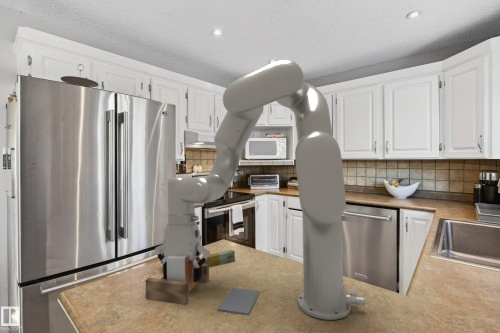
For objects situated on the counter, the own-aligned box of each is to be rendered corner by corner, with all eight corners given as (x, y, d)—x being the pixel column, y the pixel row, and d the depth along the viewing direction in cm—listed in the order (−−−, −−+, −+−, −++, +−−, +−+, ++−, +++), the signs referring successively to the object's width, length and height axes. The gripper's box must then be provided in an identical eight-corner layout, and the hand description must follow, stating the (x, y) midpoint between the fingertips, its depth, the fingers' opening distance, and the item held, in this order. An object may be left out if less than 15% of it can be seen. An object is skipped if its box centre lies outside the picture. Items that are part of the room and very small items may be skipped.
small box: (185, 297, 67) (184, 258, 67) (166, 295, 68) (166, 257, 68) (197, 283, 75) (196, 249, 75) (180, 282, 76) (179, 248, 76)
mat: (259, 292, 69) (259, 291, 69) (248, 315, 58) (248, 313, 58) (232, 289, 71) (232, 287, 71) (217, 310, 61) (217, 308, 61)
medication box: (232, 260, 95) (232, 249, 95) (235, 262, 92) (235, 251, 93) (201, 266, 89) (201, 255, 89) (204, 269, 87) (204, 257, 87)
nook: (209, 280, 77) (208, 264, 77) (185, 304, 64) (185, 284, 64) (175, 276, 80) (174, 261, 80) (145, 298, 67) (145, 280, 67)
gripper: (214, 218, 73) (215, 276, 73) (163, 215, 78) (164, 270, 78) (202, 223, 66) (203, 288, 66) (147, 220, 71) (148, 280, 71)
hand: (182, 278), depth 72 cm, fingers open, 9 cm apart
